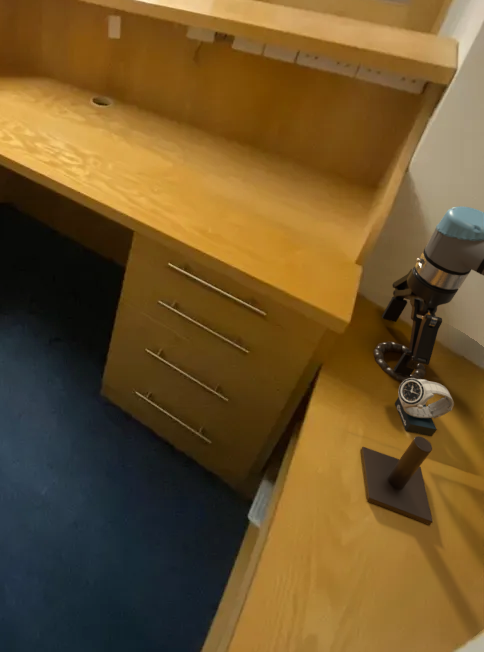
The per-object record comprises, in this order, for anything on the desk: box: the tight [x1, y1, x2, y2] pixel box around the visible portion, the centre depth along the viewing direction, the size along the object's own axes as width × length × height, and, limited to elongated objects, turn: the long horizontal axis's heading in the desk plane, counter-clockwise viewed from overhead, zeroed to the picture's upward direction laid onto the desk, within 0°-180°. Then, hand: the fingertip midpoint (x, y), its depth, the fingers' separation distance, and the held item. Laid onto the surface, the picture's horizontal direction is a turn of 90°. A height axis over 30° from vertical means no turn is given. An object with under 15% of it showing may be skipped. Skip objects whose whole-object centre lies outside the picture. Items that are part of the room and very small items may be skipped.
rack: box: [360, 435, 433, 526], centre depth 84 cm, size 9×9×13 cm
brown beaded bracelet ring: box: [372, 341, 427, 382], centre depth 106 cm, size 9×9×2 cm
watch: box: [394, 378, 455, 437], centre depth 94 cm, size 6×8×11 cm
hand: (394, 345), depth 110 cm, fingers open, 13 cm apart
